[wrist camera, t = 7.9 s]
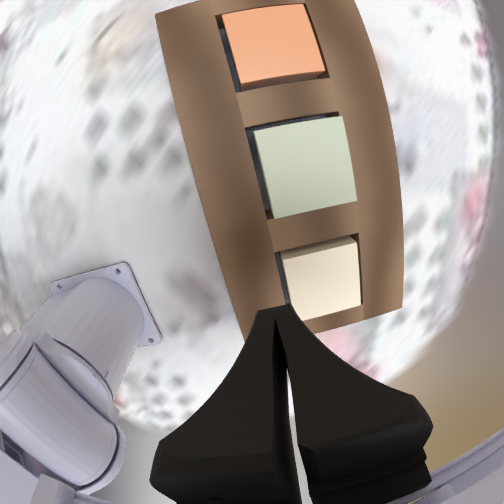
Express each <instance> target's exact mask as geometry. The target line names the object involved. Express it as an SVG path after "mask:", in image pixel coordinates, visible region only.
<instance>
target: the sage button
mask: <svg viewBox="0 0 504 504" xmlns="http://www.w3.org/2000/svg"><path fill="white" fill-rule="evenodd" d="M252 134H253V138H254V142H255V146H256V150H257V154H258V158H259V162H260V167H261V171H262V175H263V179H264V183H265V188H266V192H267V196H268V201H269V205H270V209H271V212H272V214H273V216H274V219H276V218H281V217H285V216H290V215H294V214H298V213H303V212H307V211H312V210H316V209H321V208H326V207H330V206H335V205H340V204H344V203H349V202H354V201H357V196H356V188H355V182H354V175H353V169H352V163H351V157H350V152H349V146H348V141H347V136H346V131H345V126H344V122H343V117H342V116H339V117H331V118H323V119H317V120H310V121H304V122H298V123H292V124H287V125H281V126H276V127H271V128H266V129H262V130H257V131H254V132H253V133H252Z"/></svg>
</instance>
